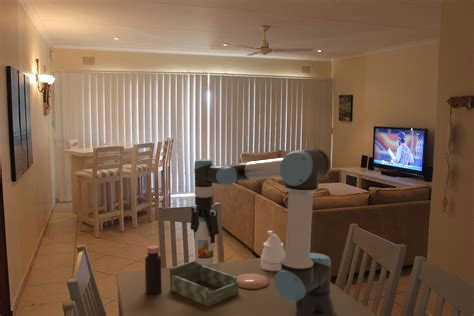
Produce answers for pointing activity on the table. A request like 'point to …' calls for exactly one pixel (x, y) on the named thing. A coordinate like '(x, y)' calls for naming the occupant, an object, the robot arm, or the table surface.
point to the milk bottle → (203, 244)
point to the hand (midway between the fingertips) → (204, 248)
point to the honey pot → (272, 253)
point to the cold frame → (193, 272)
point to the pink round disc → (252, 281)
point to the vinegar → (153, 270)
